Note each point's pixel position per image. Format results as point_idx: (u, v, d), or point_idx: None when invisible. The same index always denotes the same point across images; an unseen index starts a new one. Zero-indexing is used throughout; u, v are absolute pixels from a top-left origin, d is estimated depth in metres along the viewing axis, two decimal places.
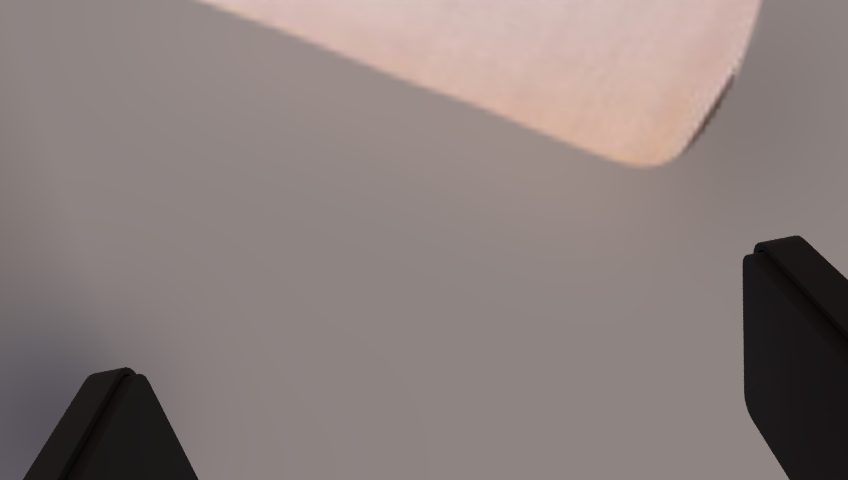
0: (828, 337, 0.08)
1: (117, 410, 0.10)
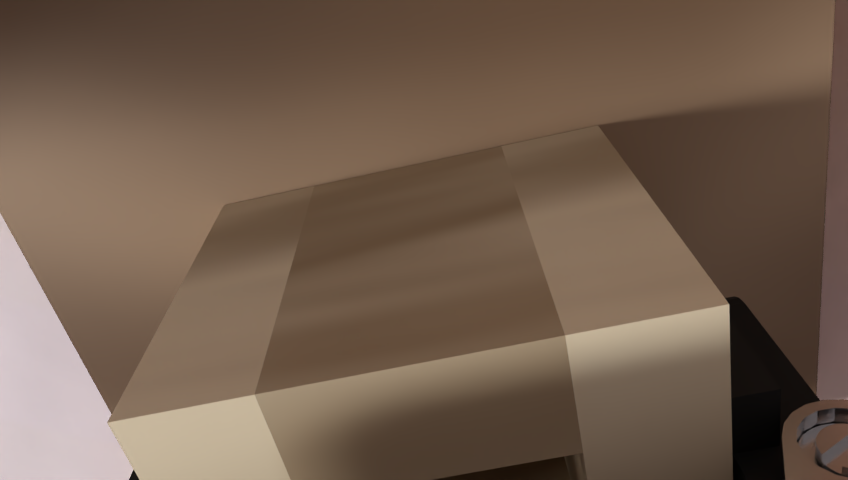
0: None
1: None
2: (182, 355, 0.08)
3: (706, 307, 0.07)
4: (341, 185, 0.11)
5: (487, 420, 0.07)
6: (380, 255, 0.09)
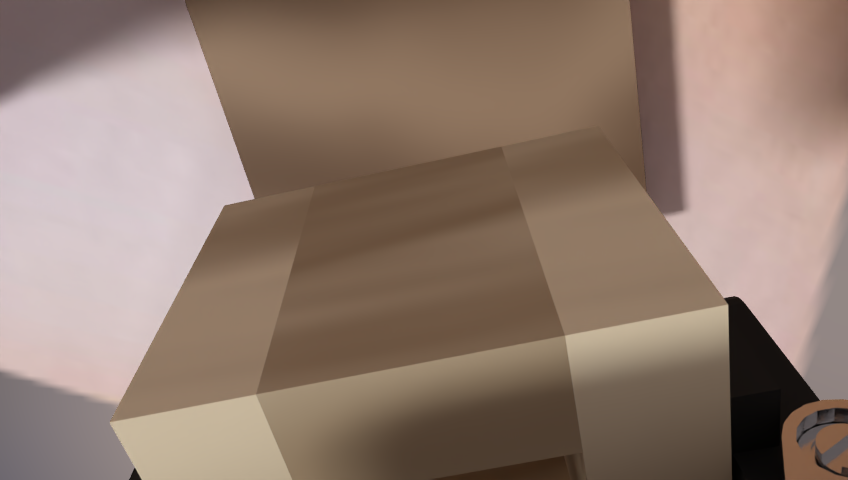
0: None
1: None
2: (184, 355, 0.08)
3: (705, 308, 0.07)
4: (342, 185, 0.11)
5: (488, 419, 0.07)
6: (381, 255, 0.09)
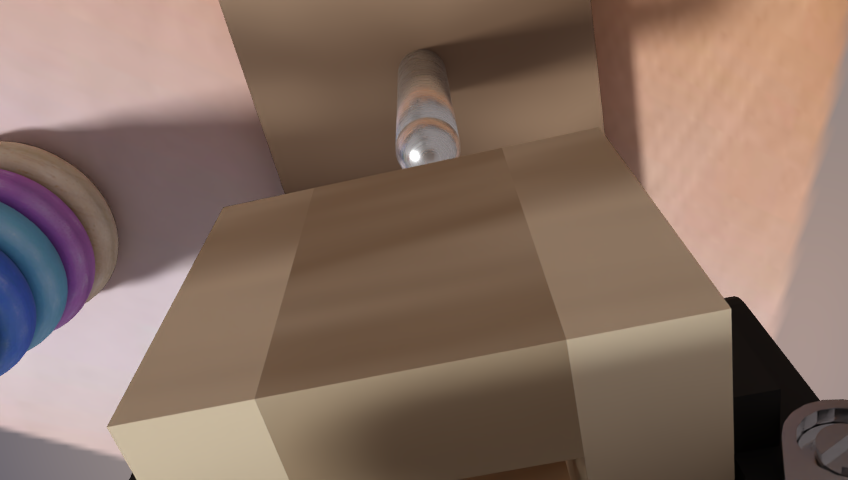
0: None
1: None
2: (182, 359, 0.08)
3: (708, 311, 0.07)
4: (341, 187, 0.11)
5: (489, 423, 0.07)
6: (380, 257, 0.09)
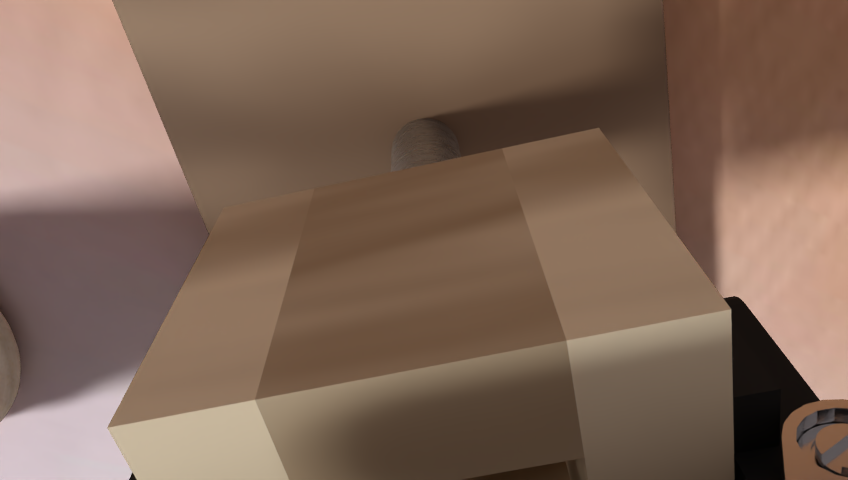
0: None
1: None
2: (182, 359, 0.08)
3: (708, 312, 0.07)
4: (341, 187, 0.11)
5: (489, 424, 0.07)
6: (381, 258, 0.09)
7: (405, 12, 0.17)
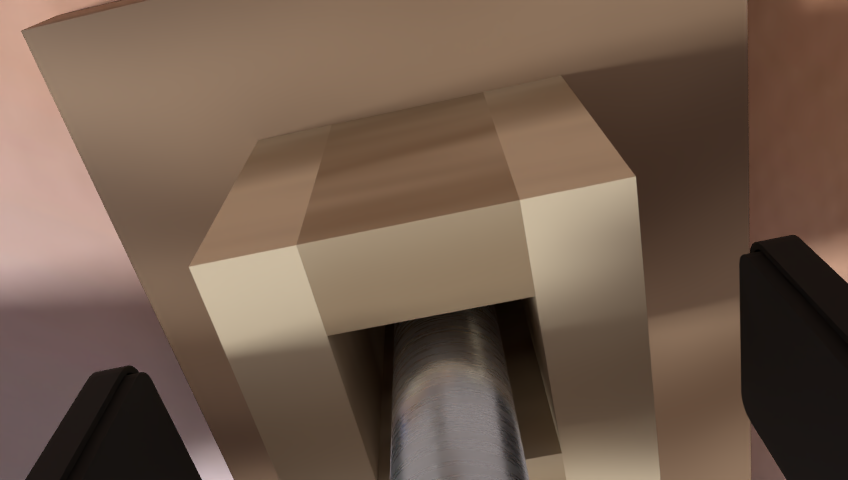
0: (823, 336, 0.08)
1: (120, 408, 0.10)
2: (239, 228, 0.10)
3: (620, 180, 0.09)
4: (354, 123, 0.14)
5: (465, 268, 0.10)
6: (386, 164, 0.11)
7: (415, 76, 0.13)
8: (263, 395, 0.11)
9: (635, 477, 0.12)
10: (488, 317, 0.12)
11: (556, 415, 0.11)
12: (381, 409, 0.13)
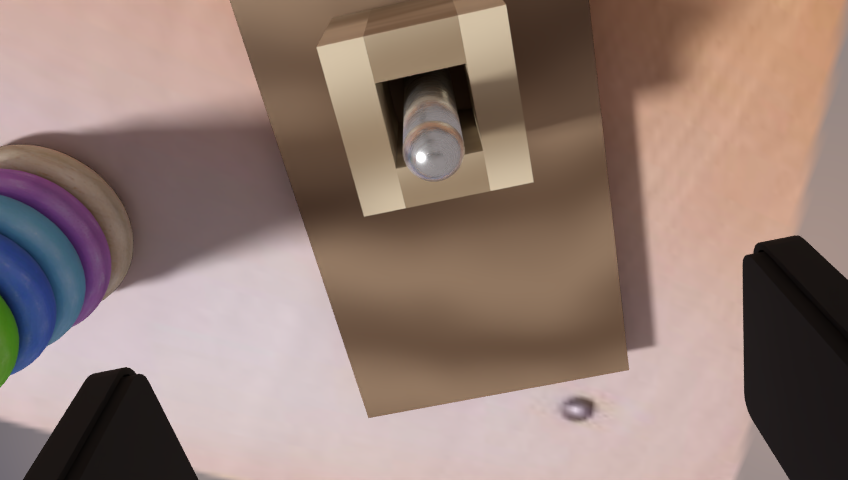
0: (828, 337, 0.08)
1: (117, 410, 0.10)
2: (334, 37, 0.23)
3: (500, 6, 0.22)
4: (382, 7, 0.26)
5: (435, 48, 0.22)
6: (400, 15, 0.24)
7: None
8: (344, 115, 0.23)
9: (519, 165, 0.24)
10: (449, 89, 0.24)
11: (479, 128, 0.24)
12: (397, 151, 0.26)
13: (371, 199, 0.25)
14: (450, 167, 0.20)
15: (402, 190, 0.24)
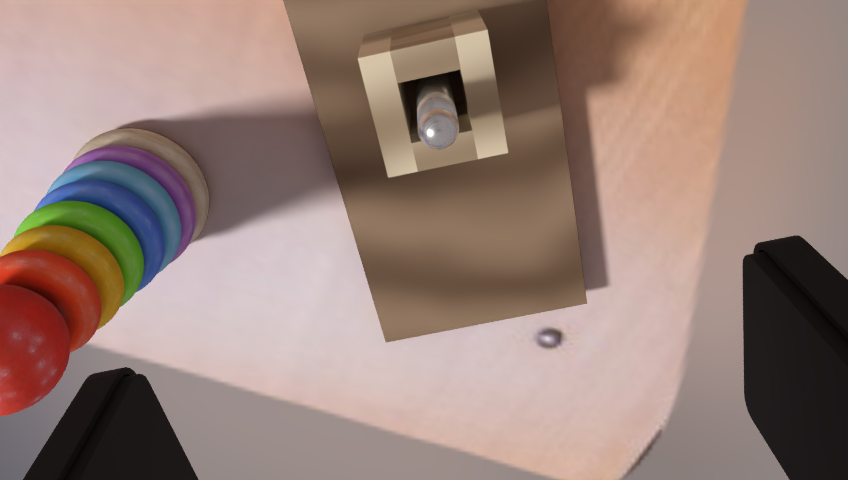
0: (828, 337, 0.08)
1: (117, 410, 0.10)
2: (369, 51, 0.33)
3: (483, 31, 0.32)
4: (400, 28, 0.36)
5: (439, 59, 0.32)
6: (414, 35, 0.34)
7: (423, 10, 0.36)
8: (376, 105, 0.33)
9: (497, 141, 0.34)
10: (448, 87, 0.34)
11: (469, 114, 0.34)
12: (411, 131, 0.36)
13: (393, 165, 0.35)
14: (449, 139, 0.30)
15: (415, 158, 0.35)
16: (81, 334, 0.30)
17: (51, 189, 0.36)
